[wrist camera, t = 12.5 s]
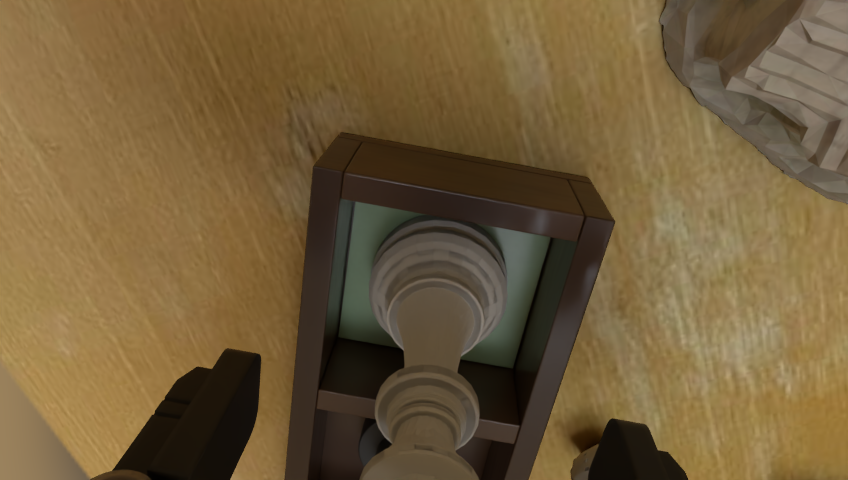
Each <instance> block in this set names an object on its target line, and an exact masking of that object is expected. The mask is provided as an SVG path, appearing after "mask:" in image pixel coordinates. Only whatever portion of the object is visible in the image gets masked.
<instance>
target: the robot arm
mask: <svg viewBox="0 0 848 480" xmlns="http://www.w3.org/2000/svg"><path fill="white" fill-rule="evenodd" d="M260 369H261V356H260V354H257V353H251V352H246V351H240V350H235V349H229V348H227V349H225V350H224V352H223V353H222V355H221V356H220V358H219V359H218V361H217V362H216V364H215V365H214V367H213V369H208V368H203V367H196V368H194V369H193V370H191V371H190V372H188V373H187V374H185V375H184V376H182V377H181V378H179V379H178V380H177V381H176V382H175V384H174V385H173V387H172V388H171V389H170V391H169V392H168V394H167V395H166V396H165V400H163V401H162V402H161V403H160V405H159V406H158V408H157V409H156V410H155V414H154V415H152V416H151V417H150V419H149V420H148V422H147V423H146V424H145V426H144V427H143V429H142V430H141V431H140V433H139V434H138V436H137V437H136V438H135V440H134V441H133V443H132V444H131V445H130V447H129V448H128V450H127V451H126V452H125V454H124V455H123V457H122V458H121V459H120V461H119V462H118V464H117V465H116V466H115V468H114V469H113V470H112V471H110V472H106V473H103V474H101V475H98V476H96V477H94V478H92V479H90V480H230V478H231V476H232V474H233V472H234V470H235V468H236V466H237V463H238V461H239V459H240V457H241V455H242V453H243V451H244V448H245V446H246V444H247V442H248V440H249V438H250V436H251V433H252V431H253V428H254V424H255V421H256V417H257V412H258V402H259V386H260ZM588 480H688V478H687V476H686V473H685V471H684V470H683V469H682V468H681V467H680V466H679V465H678V463H677V462H676V461H675V460H674V459H673V458H672V456H671V455H670V454H669V453H668V452H665V451H659V450H657V447H656V445H655V442H654V440H653V438H652V435H651V433H650V430H649V428H648V427H647V426H646V425H645V424H640V423H635V422H629V421H624V420H618V419H610V420H609V422H608V423H607V425H606V428H605V430H604V433H603V435H602V438H601V440H600V443H599V445H598V448H597V450H596V453H595V455H594V458H593V461H592V463H591V466H590V469H589V473H588Z"/></svg>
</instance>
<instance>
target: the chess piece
mask: <svg viewBox="0 0 848 480" xmlns="http://www.w3.org/2000/svg"><path fill="white" fill-rule="evenodd" d="M507 283H508V280H507V273H506V266H505V260H504V257H503V255H502V253H501V251H500V249H499V247H498V245H497V243H496V242H495V241H494V240H493V239H492V238H491V236H490V235H489V234H488V233H487V232H486V231H485V230H483V229H482V228H480V227H479V226H477V225H476V224H474V223H470V222H464V221H459V220H453V219H448V218H443V217H437V216H432V215H425V216H419V217H416V218H414V219H411V220H409V221H407V222H404V223H402V224H401V225H399V226H398V227H397V228H396V229H394V230H393V231H392V232H391V233H389V234H388V236H387V237H386V238H385V240H384V241H383V243H382V244H381V245H380V247H379V248H378V251H377V254H376V257H375V260H374V263H373V266H372V269H371V278H370V281H369V300H370V304H371V308H372V312H373V314H374V316H375V317H376V319H377V321H378V322H379V324H380V326H381V327H382V328H383V329H384V330H385V331H386V332H387V333H388V334H389V335H390V336H391V337H392V338H393V340H394V341H395V343H396V344H397V345H398V346H399V347H400V348H401V349H402V350H403V351H404V363H405V364H404V368H403V369H400V370H398V371H397V372H395V373H394V374H392V375H391V376H389V377H388V378H387V380H386V381H385V382H384V383H383V384H382V386H381V387H380V390H379V392H378V395H377V398H376V402H375V418H376V422H377V425H378V428H379V429H380V431H381V432H382V434H383V435H384V437H385V438H386V439H387V440H388V441H390V442H391V443H392V445H391V446H390V447H389V448H387V449H385V450H383V451H382V452H380V453H379V454H377V455H375V456H374V457H373V458H372V459H371V460H370V461H369V462H368V463H367V464H366V466H365V467H364V469H363V471H362V474H361V476H360V479H359V480H479V478H478V476H477V474H476V473H475V471H474V469H473V468H472V467H471V466H470V465H469V464H468V463H467V462H466V461H465V460H464V459H463V458H462V457H461V456H459V455H458V454H457V453H456V450H457V449H459V448H460V447H462V446H464V445H465V444H466V443H467V442H468V441H469V440H470V439H471V438H472V437H473V435H474V433H475V431H476V429H477V427H478V423H479V416H480V410H479V402H478V397H477V395H476V393H475V391H474V389H473V387H472V386H471V384H470V383H469V382H468V381H467V380H466V379H465V378H464V377H463V376H461V375H460V374H458V373H457V371H458V366H459V362H460V358H461V356H462V355H464V354H465V353H467V352H468V351H470V350H471V349H472V348H473V347H474V346H475V345H476V344H477V343H479V342H480V341H482V340H483V339H485V338H486V337H488V336H489V335H490V334H491V332H492V331H493V330H494V329H495V328H496V327H497V326H498V325H499V323H500V320H501V318H502V316H503V314H504V312H505V309H506V303H507V296H508V293H507Z"/></svg>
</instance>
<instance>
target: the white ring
mask: <svg viewBox="0 0 848 480" xmlns="http://www.w3.org/2000/svg"><path fill="white" fill-rule="evenodd" d="M598 445H599V444H597V445H595V446H593V447H591V448H589V449H587V450H585V451H584V452H583V453H582V454H580V455H579V456H578V457H577V458H576V459H574V461H573V467H572V469H571V479H572V480H588V473H589V469H590V466H591V463H592V461H593V458H594V455H595V453H596V450H597V448H598Z"/></svg>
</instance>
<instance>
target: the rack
mask: <svg viewBox="0 0 848 480" xmlns="http://www.w3.org/2000/svg"><path fill="white" fill-rule="evenodd" d="M425 215H432V216H437V217H443V218H448V219H453V220H459V221H464V222H470V223H474V224H476V225H477V226H479V227H480V228H482V229H483V230H485V231H486V232H487V233H488V234H489V235H490V236H491V238H492V239H493V240H494V241H495V242H496V243H497V245H498V247H499V249H500V251H501V253H502V255H503V257H504V260H505V266H506V273H507V280H508V283H507V293H508V296H507V303H506V309H505V312H504V314H503V316H502V318H501V320H500V323H499V325H498V326H497V327H496V328H495V329H494V330H493V331H492V332H491V334H490V335H489V336H488V337H486V338H485V339H483V340H482V341H480V342H479V343H477V344H476V345H475V346H474V347H473V348H472V349H471V350H470V351H468V352H467V353H465V354H464V355H462V356H461V358H460V362H459V366H458V371H457V373H458V374H460V375H461V376H463V377H464V378H465V379H466V380H467V381H468V382H469V383H470V384H471V386H472V387H473V389H474V391H475V393H476V395H477V397H478V402H479V410H480V416H479V423H478V427H477V429H476V431H475V433H474V435H473V437H472V438H471V439H470V440H469V441H468V442H467V443H466V444H465V445H464V446H462V447H460V448H459V449H457V450H456V453H457V454H458V455H459V456H461V457H462V458H463V459H464V460H465V461H466V462H467V463H468V464H469V465H470V466H471V467H472V468H473V469H474V471H475V473H476V474H477V476H478V478H479V480H528V479H529V476H530V473H531V470H532V467H533V465H534V462H535V459H536V456H537V453H538V450H539V447H540V444H541V441H542V438H543V435H544V432H545V429H546V426H547V423H548V420H549V417H550V414H551V411H552V408H553V405H554V402H555V399H556V396H557V393H558V390H559V387H560V384H561V382H562V379H563V376H564V373H565V370H566V367H567V364H568V361H569V358H570V355H571V352H572V349H573V346H574V343H575V340H576V337H577V334H578V331H579V328H580V325H581V322H582V319H583V316H584V313H585V310H586V307H587V304H588V301H589V299H590V296H591V293H592V290H593V287H594V284H595V281H596V278H597V275H598V272H599V269H600V266H601V263H602V260H603V257H604V254H605V251H606V248H607V245H608V242H609V239H610V236H611V233H612V230H613V227H614V224H615V220H614V219H613V217H612V215H611V214H610V212H609V210H608V209H607V207H606V205H605V204H604V202H603V200H602V199H601V197H600V195H599V194H598V192H597V190H596V189H595V187H594V185H593V184H592V182H591V181H590V179H589V178H586V177H581V176H576V175H570V174H565V173H559V172H554V171H548V170H543V169H538V168H532V167H527V166H521V165H516V164H510V163H505V162H499V161H494V160H489V159H483V158H478V157H472V156H467V155H461V154H456V153H451V152H445V151H440V150H434V149H429V148H423V147H418V146H413V145H407V144H402V143H396V142H391V141H385V140H380V139H375V138H369V137H364V136H358V135H353V134H347V133H340V134H339V135H338V137H337V138H336V139H335V140H334V141H333V142H332V144H331V145H330V146H329V147H328V149H327V150H326V151H325V152H324V154H323V155H322V156H321V157H320V159H319V160H318V161H317V162H316V164H315V165H314V166H313V173H312V184H311V195H310V206H309V217H308V228H307V239H306V249H305V260H304V271H303V282H302V293H301V304H300V315H299V326H298V337H297V348H296V359H295V370H294V381H293V392H292V403H291V414H290V425H289V436H288V447H287V458H286V469H285V480H359V479H360V476H361V474H362V471H363V469H364V466H363V464H362V462H361V460H360V457H359V452H358V445H359V440H360V436H361V432H362V427H363V423H364V421H365V419H366V418H371V419H376V418H375V402H376V398H377V395H378V392H379V390H380V387H381V386H382V384H383V383H384V382H385V381H386V380H387V378H388V377H389V376H391V375H392V374H394V373H395V372H397V371H398V370H400V369H403V368H404V364H405V363H404V351H403V350H402V349H401V348H400V347H399V346H398V345H397V344H396V343H395V341H394V340H393V338H392V337H391V336H390V335H389V334H388V333H387V332H386V331H385V330H384V329H383V328H382V327H381V326H380V324H379V322H378V321H377V319H376V317H375V316H374V314H373V312H372V308H371V304H370V300H369V281H370V278H371V269H372V266H373V263H374V260H375V257H376V254H377V251H378V248H379V247H380V245H381V244H382V243H383V241H384V240H385V238H386V237H387V236H388V234H389V233H391V232H392V231H393V230H394V229H396V228H397V227H398V226H399V225H401V224H402V223H404V222H407V221H409V220H411V219H414V218H416V217H419V216H425Z"/></svg>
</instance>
